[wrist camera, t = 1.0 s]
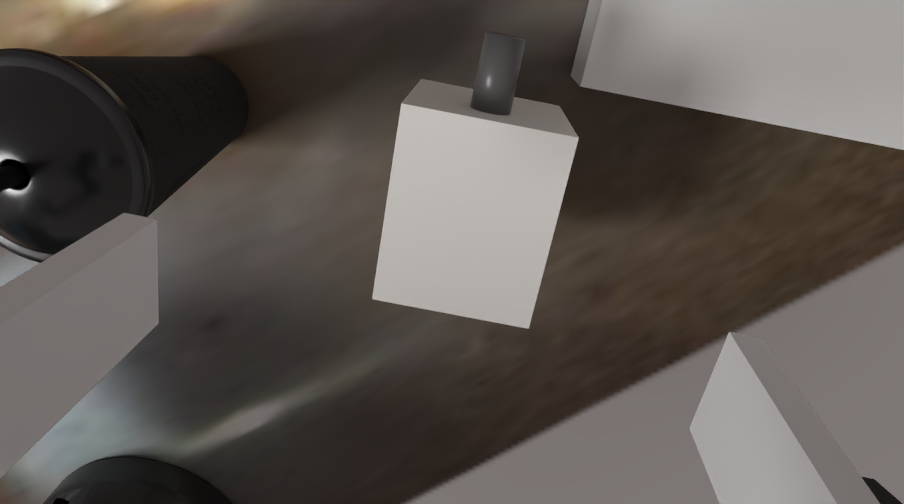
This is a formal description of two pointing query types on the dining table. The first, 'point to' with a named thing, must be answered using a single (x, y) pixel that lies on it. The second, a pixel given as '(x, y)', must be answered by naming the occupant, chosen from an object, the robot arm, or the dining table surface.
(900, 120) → the socket
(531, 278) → the plug
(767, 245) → the dining table surface
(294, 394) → the dining table surface
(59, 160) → the drinking cup
